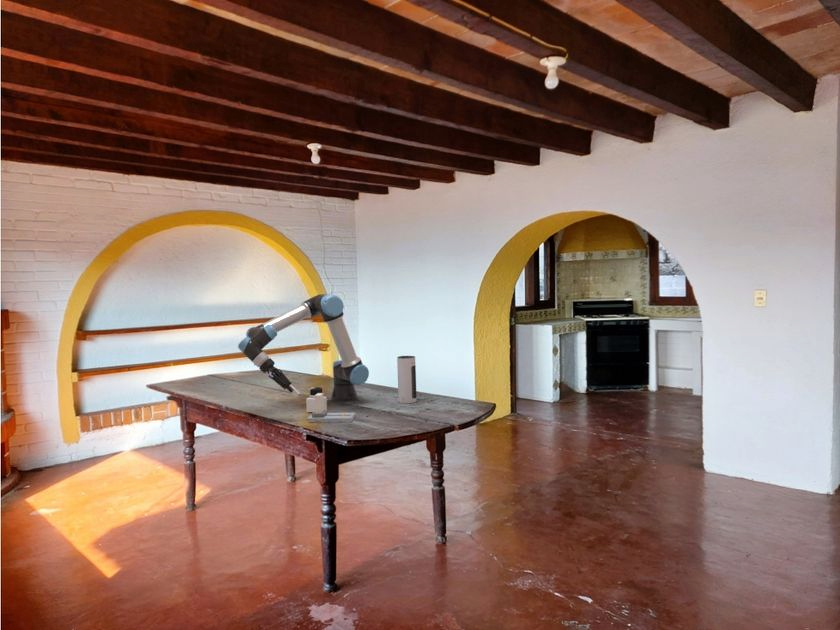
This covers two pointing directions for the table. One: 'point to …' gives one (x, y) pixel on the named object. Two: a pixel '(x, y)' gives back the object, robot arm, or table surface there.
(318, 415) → the fader
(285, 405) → the table surface
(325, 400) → the container
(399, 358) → the speaker
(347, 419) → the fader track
